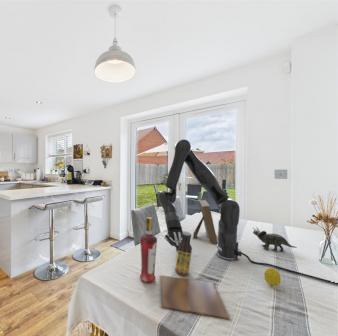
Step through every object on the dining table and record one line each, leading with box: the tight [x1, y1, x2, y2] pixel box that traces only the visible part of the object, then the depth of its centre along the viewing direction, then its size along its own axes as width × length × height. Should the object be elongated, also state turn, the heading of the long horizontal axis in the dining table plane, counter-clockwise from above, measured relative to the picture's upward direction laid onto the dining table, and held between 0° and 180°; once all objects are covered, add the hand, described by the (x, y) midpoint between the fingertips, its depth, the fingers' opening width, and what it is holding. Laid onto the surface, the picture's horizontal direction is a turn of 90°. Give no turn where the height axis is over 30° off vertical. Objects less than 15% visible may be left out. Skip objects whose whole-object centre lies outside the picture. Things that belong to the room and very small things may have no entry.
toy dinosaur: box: [252, 226, 298, 252], centre depth 122 cm, size 22×8×11 cm, turn 47°
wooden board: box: [160, 275, 230, 320], centre depth 78 cm, size 22×20×1 cm
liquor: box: [139, 216, 158, 284], centre depth 87 cm, size 7×7×28 cm
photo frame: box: [192, 199, 218, 244], centre depth 141 cm, size 15×22×25 cm
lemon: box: [263, 267, 282, 287], centre depth 85 cm, size 6×6×8 cm
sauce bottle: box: [174, 231, 193, 276], centre depth 93 cm, size 6×6×20 cm
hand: (180, 254), depth 96 cm, fingers closed
